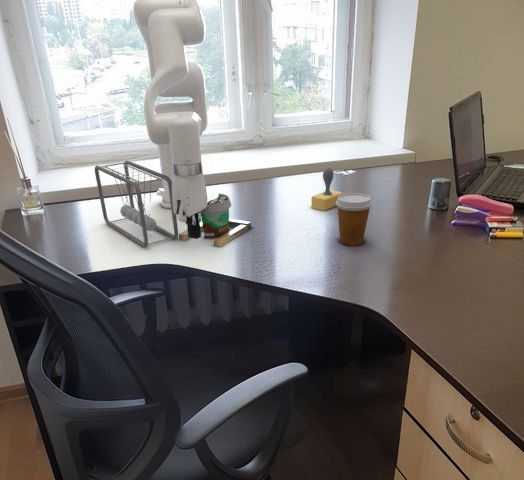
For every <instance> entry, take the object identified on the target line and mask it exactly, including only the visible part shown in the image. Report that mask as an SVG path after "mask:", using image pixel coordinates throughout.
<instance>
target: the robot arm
mask: <svg viewBox="0 0 524 480" xmlns="http://www.w3.org/2000/svg"><path fill="white" fill-rule="evenodd" d="M133 15H134V19H135V23H136V25H137V28H138V30H139V32H140V34H141V37H142V38H143V40H144V42H145V46H146V50H147V57H148V64H149V72H150V81H149V84H148V85H147V87H146V89H145V92H144V97H143V111H144V118H145V127H146V131H147V135H148V138H149V140H150V141H151V143H153V144H154V145H157V150H158V158H159V164H160V173H161V174H163V175H166V176H168V177H169V178H170V179H171V181H172V203H173V212H174V214H175V215H176V216H178V221H179V222H181V223H185V225H186V227H187V229H186V230H188V237H189V238H188V239H194V240H198V239H201V237H202V231H201V230H200V223H201V222H202V218H201V215H202V213H203V212H204V209H205V208H206V207H207V203H208V192H207V185H206V180H205V175H204V171H203V170H204V169H203V161H202V151H201V150H202V149H201V136H202V135H203V133H204V132H206V130H207V128H208V107H207V94H206V93H207V92H206V81H205V75H204V70H203V68H202V66H201V65H200V64H199V63H198V62H195V61H188V59H187V54H186V48H185V47H191V46H192V47H193V46H201V45H203V44H204V42H205V39H206V24H205V19H204V16H203V12H202V9H201V8H200V6H199V4H198V1H197V0H135V1H134V3H133ZM158 98H161V99H179V98H190V99H191V100H184V101H165V102H160V103H156V101H157V99H158ZM155 103H156V104H155ZM161 181H162V188H160V187H159V188H158V189H157V191H156V192H155V193H156V196H157V197H161V198H162V199H161V200H160V206H161V207H163V208H166V209H171V202H170V194H169V186H168V183H167V181H166V180H161Z"/></svg>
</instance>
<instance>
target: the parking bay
mask: <svg viewBox="0 0 524 480" xmlns="http://www.w3.org/2000/svg"><path fill="white" fill-rule="evenodd" d="M229 228H232V229H231V230H229V232H228V233H226V234H224V235H222V236H221V237H219V238H215V239H214V240H213V246H214V247H220V248H221V247H222V246H223V245H225V244H227V243H228V242H230V241H232V240H233V239H235V238H237V237H238V236H240V235H241V234H243V233H245V232H246V231H248V230H250V229H252V222H251V221H247V220H242V219H241V220H240V219H236V218H235V219H233V218H229ZM200 230H201V232H202V231H203V225H202V221H201V222H200ZM203 232H204V231H203ZM178 239H179V240H182V241H186V240H188V239H190V238H189V237H188V229H185V230H183V231H182V232H180V233H178Z"/></svg>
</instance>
